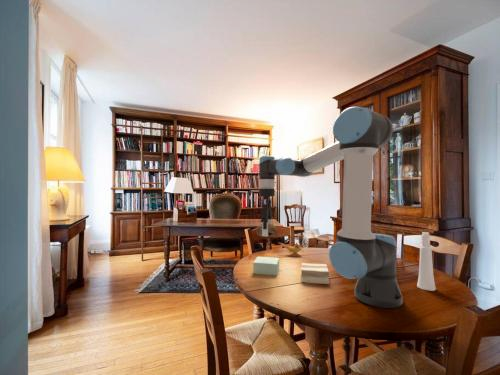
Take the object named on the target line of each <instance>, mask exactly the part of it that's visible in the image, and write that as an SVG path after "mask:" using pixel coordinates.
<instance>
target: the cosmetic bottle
mask: <svg viewBox="0 0 500 375" xmlns="http://www.w3.org/2000/svg"><path fill="white" fill-rule="evenodd" d="M421 233H422V234H421V246H420V248H419V266H418V279H417V284H416V287H417V288H419V289H420V290H424V291H427V292H428V291H430V292H434V291H436V290H437V288H436V283H435V279H434V278H435V277H434V267H433V266H434V265H433V249H432V247H431V236H430V232H427V231H422V232H421Z"/></svg>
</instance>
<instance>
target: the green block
mask: <svg viewBox="0 0 500 375" xmlns="http://www.w3.org/2000/svg"><path fill="white" fill-rule="evenodd" d="M252 266H253V267H252V273H253V274H257V275H267V276H269V275H270V276H277V275H278V272H279V269H280V257H272V256H270V257H269V256H256V258H255V259H254V261H253V263H252Z"/></svg>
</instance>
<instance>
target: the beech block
mask: <svg viewBox="0 0 500 375" xmlns="http://www.w3.org/2000/svg"><path fill="white" fill-rule="evenodd" d="M301 283H309V284H320V285H321V284H323V285H330V272H329V269H328V266H327V264H326V263H309V262H301Z"/></svg>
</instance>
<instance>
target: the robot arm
mask: <svg viewBox="0 0 500 375" xmlns="http://www.w3.org/2000/svg"><path fill="white" fill-rule="evenodd" d="M393 132H394V126H393V122H392V121H391V120H390V119H389V117H388V116H386V115H384V114H382V113H378V112H375V111H373V110H370V109H369V108H368V107H362V106H351V107H347V108H345V109H344V110H343V111H342V112H340V113H339V116H337V117H336V119H335V121H334V123H333V126H332V134H333V137H334V139H335V140H336V141H337V142H335V143H332V144H330V145H328V146H326V147H324V148H322V149H320V150H318V151H316V152H314V153H312V154H309V155H308V156H306V157H303V158H302V159H292V158H291V157H280V158H275V156H274V155H262V156H260V157H259V164H258V167H259V171H258V177H259V178H258V187H259V189H258V191H259V192H258V194H259V195H258V196H259V197H263V199H262V201H261V202H262V203H261V219H260V223H261V224H262V236H261V237H266V236H267V237H269V236H268V222H269V223H272V220H273V216H272V199H271V197H275V195H276V194H275V193H276V190H275V189H274V188H275V187H276V186H275V185H276V184H277V181H275V180H276V179H275V176H292V177H302V178H305V177H310V176H312V174H313V173H314V172H315V171H319V170H321V169H323V168H325V167H327V166H330V165H333V164H336V163H338V162H341V161H343V180H342V182H343V184H342V212H341V214H342V216H341V217H342V219H341V228H340V230H338V231H337V232H336V242H335V243H333V244H332V245H331V246H330V248H329V252H328V256H329V262H330V264H331V266H332V268H333V269H334V270H335V271H336V273H337V274H338V275H339V276H341V277H344V278H346V279H348V280H349V279H350V280H356V279H357V280H356V283H355V286H354V291H353V292H354V294H353V295H354V297H355V298H356V299H357V300H358V301H360V302H362V303H364V304H367V305H369V306H371V307H376V308H381V309H382V308H384V309H394V308H400V307H401V306H403V295H402V292H401V289H400V286H399V284H398V280H397V247H398V246H397V243H396V242H397V241H396V238H395V236H393V235H388V234H381V233H373V232H372V228H371V227H372V203H373V202H372V199H373V198H372V196H373V172H374V171H373V169H374V168H373V167H374V155H375V154H376V153H377V152H378V151H380V150H379V149H380V148H382V147H383V146H385V145H386V144H387V143H388V142H389V141H390V140H391V138H392V136H393Z"/></svg>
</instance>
